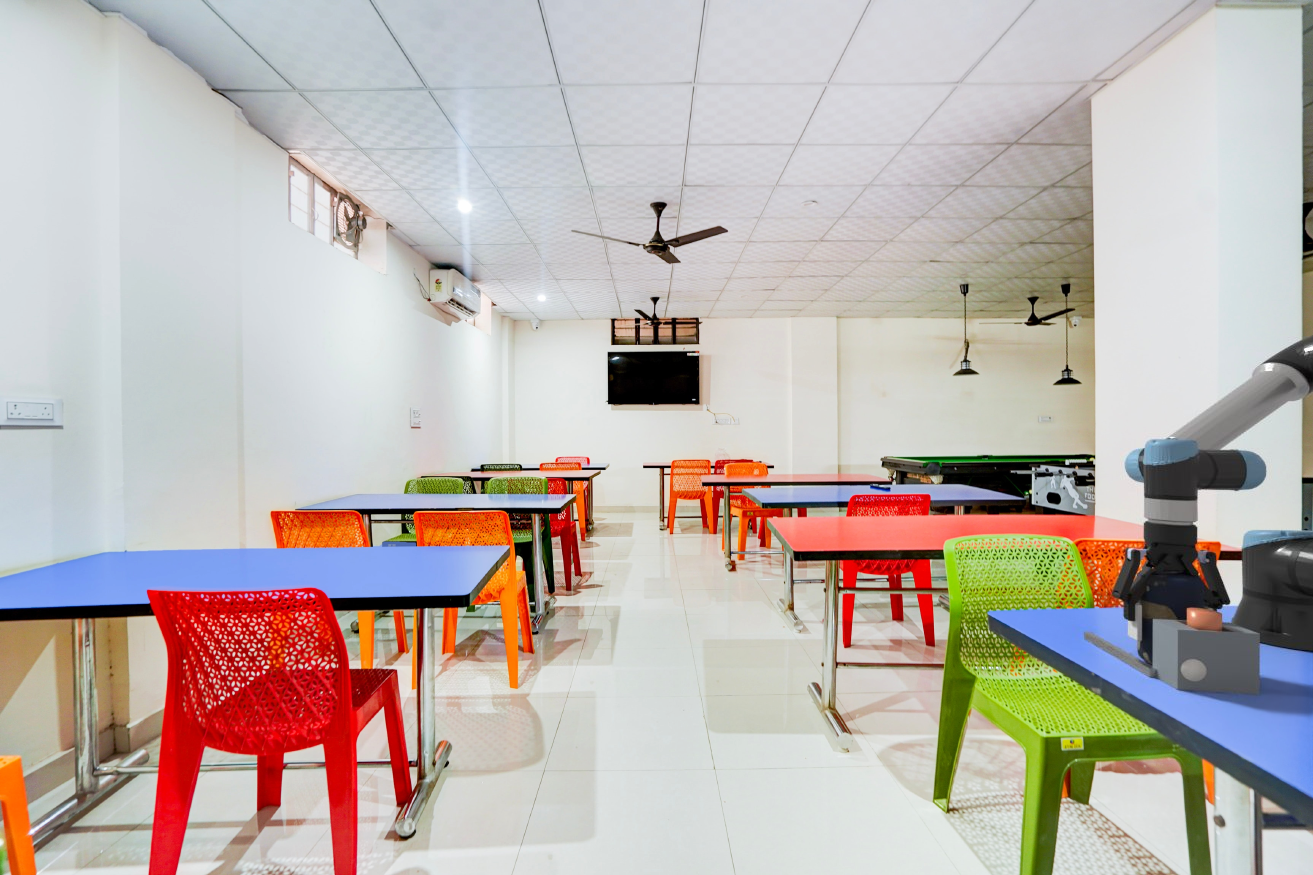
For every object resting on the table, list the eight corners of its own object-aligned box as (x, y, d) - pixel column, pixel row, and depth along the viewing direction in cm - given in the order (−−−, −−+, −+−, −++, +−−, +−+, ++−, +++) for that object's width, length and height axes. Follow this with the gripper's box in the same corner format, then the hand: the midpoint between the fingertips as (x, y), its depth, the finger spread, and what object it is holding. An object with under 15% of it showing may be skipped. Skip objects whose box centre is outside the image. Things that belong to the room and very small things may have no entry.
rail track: (1165, 642, 120) (1165, 635, 120) (1247, 682, 100) (1248, 674, 100) (1084, 638, 122) (1084, 631, 122) (1149, 677, 103) (1149, 668, 103)
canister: (1219, 677, 103) (1218, 574, 103) (1156, 672, 105) (1156, 572, 105) (1181, 657, 112) (1181, 563, 112) (1125, 653, 114) (1125, 561, 114)
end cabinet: (1229, 679, 102) (1229, 622, 102) (1261, 695, 95) (1261, 634, 95) (1152, 675, 103) (1152, 618, 103) (1179, 690, 97) (1179, 630, 97)
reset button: (1208, 634, 101) (1208, 608, 101) (1229, 642, 97) (1229, 615, 97) (1180, 632, 102) (1180, 607, 102) (1199, 641, 98) (1199, 614, 98)
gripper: (1224, 520, 110) (1224, 636, 110) (1089, 517, 114) (1088, 629, 114) (1259, 526, 103) (1258, 650, 103) (1113, 522, 106) (1112, 643, 106)
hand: (1169, 639), depth 108 cm, fingers open, 11 cm apart
